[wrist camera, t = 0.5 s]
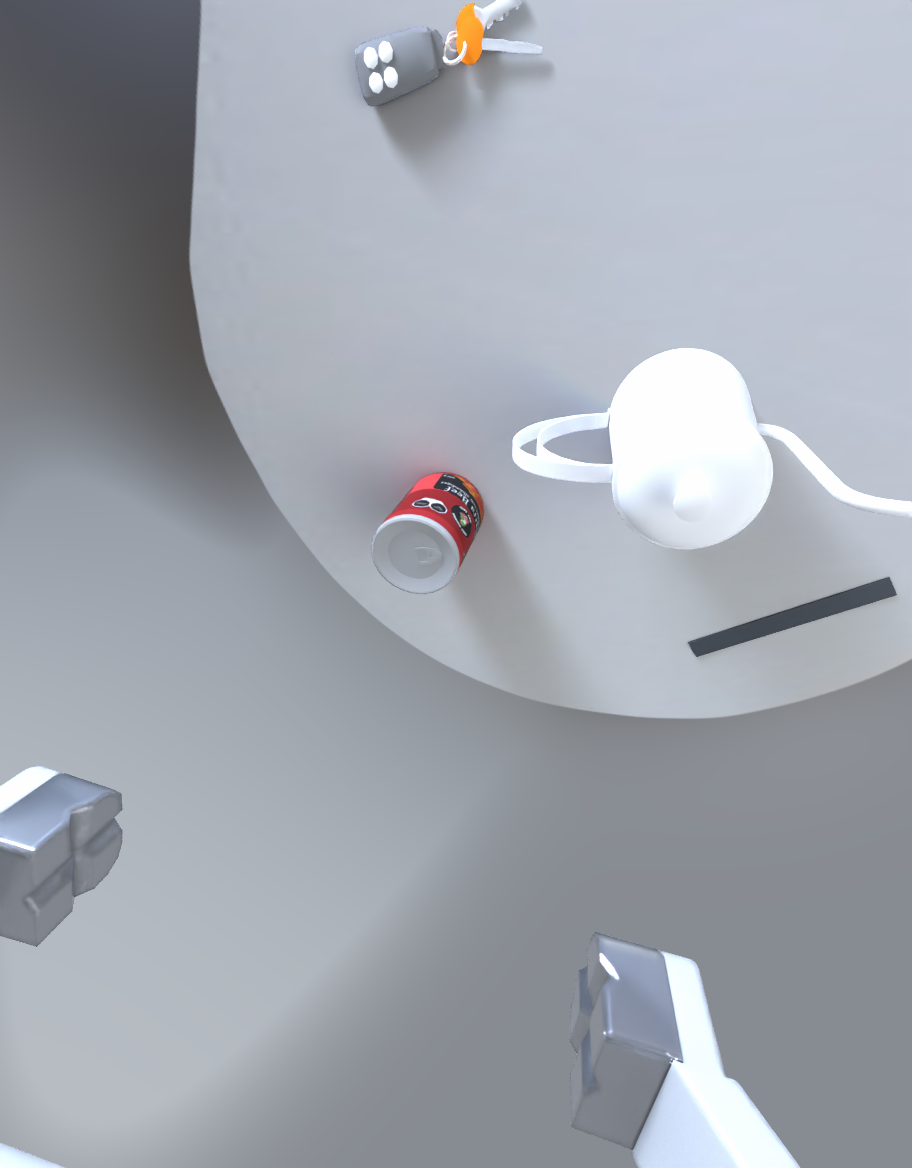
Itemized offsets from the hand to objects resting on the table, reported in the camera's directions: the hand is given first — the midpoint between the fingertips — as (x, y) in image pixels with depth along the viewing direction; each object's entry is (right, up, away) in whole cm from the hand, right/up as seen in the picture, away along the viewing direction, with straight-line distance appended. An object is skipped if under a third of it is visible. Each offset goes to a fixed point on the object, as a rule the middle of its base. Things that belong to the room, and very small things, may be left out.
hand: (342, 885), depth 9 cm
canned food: (+1, +13, +49) cm, 51 cm away
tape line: (+34, +1, +46) cm, 57 cm away
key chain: (+1, +42, +31) cm, 52 cm away
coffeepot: (+21, +19, +39) cm, 48 cm away
